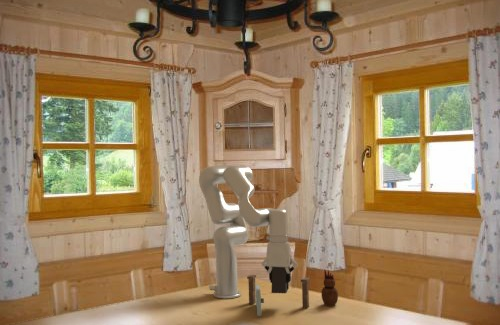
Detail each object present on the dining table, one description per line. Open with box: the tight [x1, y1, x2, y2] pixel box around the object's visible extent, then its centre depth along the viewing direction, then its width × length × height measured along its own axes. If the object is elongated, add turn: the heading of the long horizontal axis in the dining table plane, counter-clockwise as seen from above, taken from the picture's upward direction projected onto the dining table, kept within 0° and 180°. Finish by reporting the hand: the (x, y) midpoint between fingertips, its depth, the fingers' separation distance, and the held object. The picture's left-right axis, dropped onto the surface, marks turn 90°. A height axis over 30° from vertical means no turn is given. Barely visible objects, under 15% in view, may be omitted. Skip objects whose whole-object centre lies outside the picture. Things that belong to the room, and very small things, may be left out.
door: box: [255, 284, 265, 317], centre depth 213 cm, size 18×3×8 cm, turn 1°
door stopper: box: [271, 267, 290, 294], centre depth 216 cm, size 9×6×12 cm, turn 168°
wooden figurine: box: [321, 269, 339, 307], centre depth 219 cm, size 7×6×15 cm
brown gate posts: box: [246, 274, 310, 309], centre depth 220 cm, size 26×4×12 cm, turn 71°
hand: (280, 281), depth 216 cm, fingers closed on door stopper, 6 cm apart
